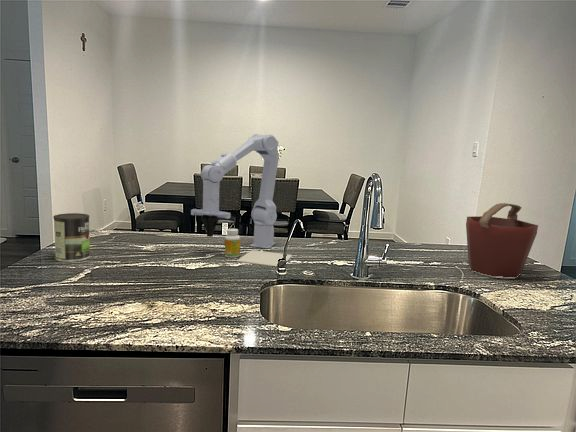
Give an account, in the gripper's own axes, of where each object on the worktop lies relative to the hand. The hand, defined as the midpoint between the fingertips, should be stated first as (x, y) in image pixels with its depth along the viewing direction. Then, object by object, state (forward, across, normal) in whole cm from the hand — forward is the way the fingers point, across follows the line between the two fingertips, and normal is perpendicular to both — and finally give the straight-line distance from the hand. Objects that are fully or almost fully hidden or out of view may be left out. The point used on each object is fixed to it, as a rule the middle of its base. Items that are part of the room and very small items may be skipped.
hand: (210, 236), depth 150 cm
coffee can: (+7, -37, -25) cm, 45 cm away
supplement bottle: (+7, +9, 0) cm, 11 cm away
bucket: (+7, +101, +21) cm, 103 cm away
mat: (+6, +21, +2) cm, 22 cm away
